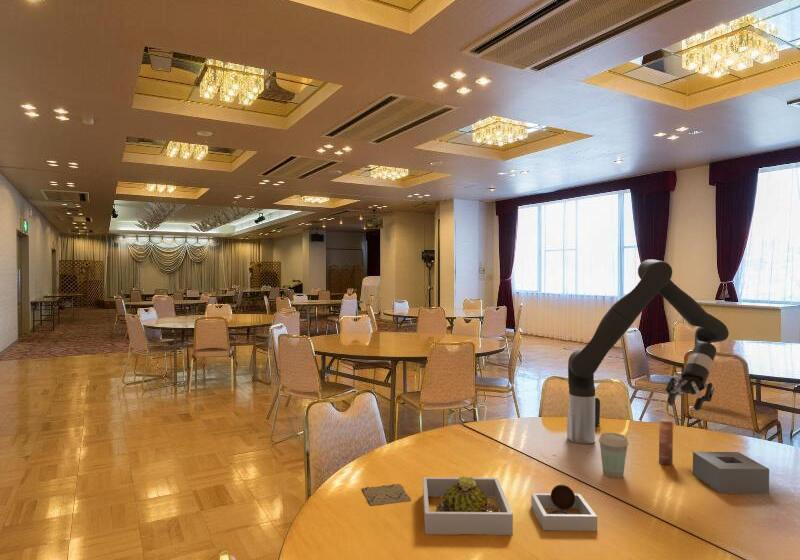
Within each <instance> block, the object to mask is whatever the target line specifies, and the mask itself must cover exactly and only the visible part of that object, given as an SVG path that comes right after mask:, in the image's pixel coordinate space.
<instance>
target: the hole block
mask: <svg viewBox="0 0 800 560" xmlns="http://www.w3.org/2000/svg"><path fill="white" fill-rule="evenodd" d="M692 475H694V476H695V477H696V478H698V479H699V480H701V481H702V482H704V483H705V484H706V485H707V486H709V487H711V488H712V489H713V490H714V491H716V492H717V493H718V494H770V468H769V467H767V466H765V465H763V464H761V463H759V462H757V461H756V460H753V459H752V458H750V457H749V456H746V455H745V454H743V453H741V452H739V451H692Z"/></svg>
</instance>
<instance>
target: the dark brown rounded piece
mask: <svg viewBox="0 0 800 560" xmlns="http://www.w3.org/2000/svg"><path fill="white" fill-rule="evenodd" d="M550 493H551V500H552V502H553V504H554V505H555V506H556V507H558V508H554V509H553V510H551V511H549V513H548V514H572V513H571V512H570V511H568V510H570V509H572V508H571V507H572V506H573V505H574V503H575V494H576V493H575V492H574V490H573V489H572V488H571V487H570V486H568V485H565V484H558V485H555V486H554V487H553V488H552V489H551V492H550Z"/></svg>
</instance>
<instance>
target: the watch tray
mask: <svg viewBox="0 0 800 560" xmlns="http://www.w3.org/2000/svg"><path fill="white" fill-rule="evenodd" d="M574 494H575V503H574V505H573V506H572V507H571V508H570V509H577V510H578V512H579V514H576V513H575V514H573V513H571V514H549V513H547V512H546V510H545V509H559V508H558V507H556V506H555V505H554V504H553V502H552V500H551V492H550V493H544V492H543V493H537V492H536V493H534V492H531V495H530V496H531V499H530V503H531V509H532V511H533V512H534V514H535V516H536V518H537V520H538V522H539V524H540V526H541V528H542V530H543V531H574V532H575V531H576V532H577V531H579V532H580V531H581V532H583V531H585V532H586V531H587V532H588V531H594V532H598V516H597V514H596V513H595V512H594V510H593V509H592V508H591V506H590V505H589V504H588V502H587V501H586V500H585V499H584V496H582V495H581V493H574Z"/></svg>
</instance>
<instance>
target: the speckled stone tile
mask: <svg viewBox="0 0 800 560" xmlns="http://www.w3.org/2000/svg"><path fill="white" fill-rule="evenodd" d="M361 491H362V493H363V495H364V498H365V499H366V501H367V503H368V505H369V507H375V506H384V505H391V504H399V503H408V502H412V499H411V497H410V495H408V493H407V492H406V490H405V488H404V486H402V484H401V483H397V484H395V483H392V484H388V485H380V486H367V487H362V488H361Z"/></svg>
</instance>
